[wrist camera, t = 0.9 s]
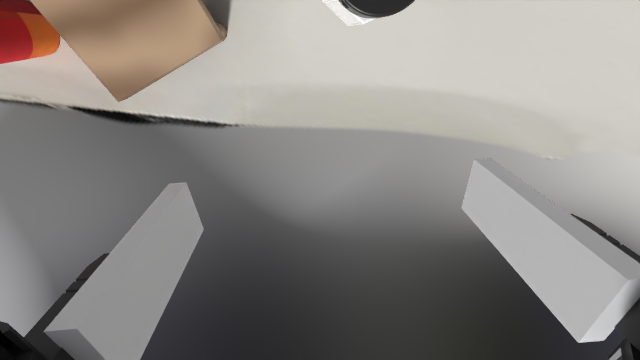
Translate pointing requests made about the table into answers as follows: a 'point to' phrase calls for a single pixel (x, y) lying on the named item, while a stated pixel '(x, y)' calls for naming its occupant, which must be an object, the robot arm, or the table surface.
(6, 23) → the paper cup
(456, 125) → the table surface
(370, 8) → the jar
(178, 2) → the stool
